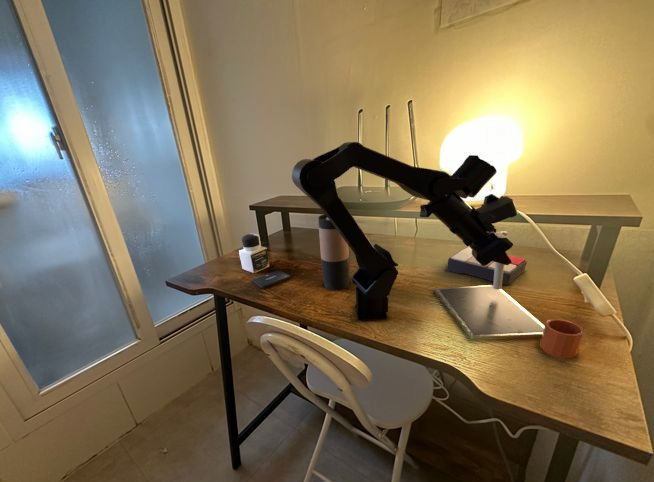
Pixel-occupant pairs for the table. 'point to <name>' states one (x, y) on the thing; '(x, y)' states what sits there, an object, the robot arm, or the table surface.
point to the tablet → (489, 313)
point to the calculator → (471, 266)
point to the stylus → (499, 271)
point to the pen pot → (561, 338)
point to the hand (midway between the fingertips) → (507, 261)
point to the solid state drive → (270, 279)
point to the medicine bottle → (253, 254)
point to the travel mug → (333, 255)
